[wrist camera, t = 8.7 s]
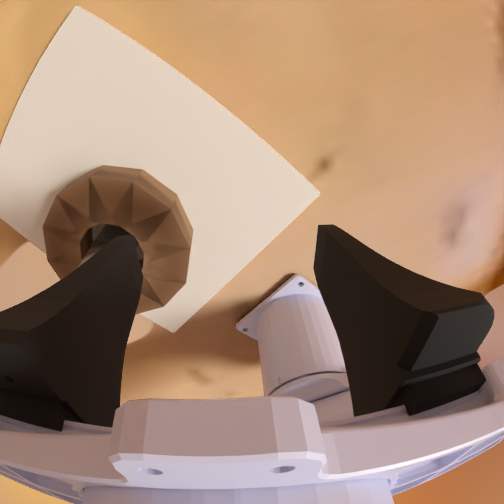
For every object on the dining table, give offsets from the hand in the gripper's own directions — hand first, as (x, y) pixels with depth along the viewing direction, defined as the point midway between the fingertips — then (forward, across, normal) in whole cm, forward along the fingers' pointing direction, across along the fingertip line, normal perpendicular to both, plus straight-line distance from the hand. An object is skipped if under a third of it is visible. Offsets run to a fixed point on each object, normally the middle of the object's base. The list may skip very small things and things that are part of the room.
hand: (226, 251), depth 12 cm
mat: (+10, +8, +1) cm, 13 cm away
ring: (+10, +8, +4) cm, 13 cm away
